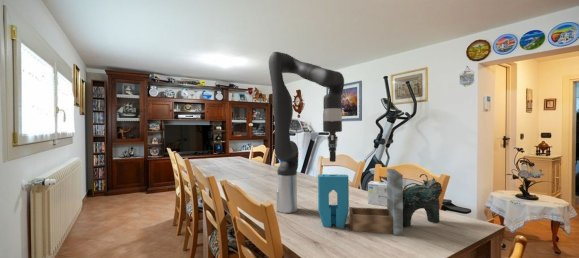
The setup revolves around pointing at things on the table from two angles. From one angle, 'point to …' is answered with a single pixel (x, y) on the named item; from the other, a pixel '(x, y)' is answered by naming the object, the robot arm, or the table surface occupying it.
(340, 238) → the table surface
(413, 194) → the dark green elephant figurine
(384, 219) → the wooden stand
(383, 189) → the light bulb box
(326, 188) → the block
